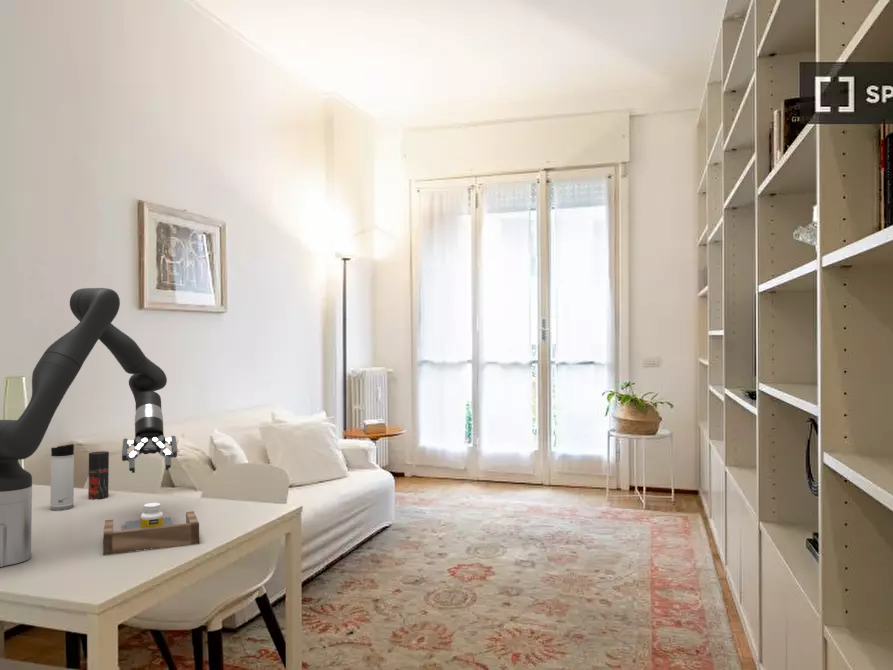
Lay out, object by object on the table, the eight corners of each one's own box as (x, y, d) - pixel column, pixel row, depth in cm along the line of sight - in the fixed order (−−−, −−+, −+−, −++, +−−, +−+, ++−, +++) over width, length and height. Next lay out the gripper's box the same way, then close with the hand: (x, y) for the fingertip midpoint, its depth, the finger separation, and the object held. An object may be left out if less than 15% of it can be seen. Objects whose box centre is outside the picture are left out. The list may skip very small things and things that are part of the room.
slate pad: (125, 523, 191) (125, 521, 191) (170, 518, 196) (170, 516, 196) (125, 534, 180) (125, 532, 180) (173, 528, 185) (173, 527, 185)
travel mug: (64, 511, 205) (64, 446, 205) (45, 510, 206) (46, 445, 206) (79, 506, 211) (79, 443, 211) (61, 505, 212) (61, 442, 212)
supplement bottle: (148, 546, 169) (148, 507, 169) (135, 543, 172) (135, 505, 172) (167, 541, 174) (167, 503, 174) (154, 538, 176) (154, 501, 177)
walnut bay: (104, 539, 175) (104, 520, 175) (193, 529, 185) (193, 511, 185) (103, 555, 162) (103, 534, 162) (199, 543, 172) (199, 523, 172)
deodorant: (112, 497, 224) (112, 452, 224) (94, 500, 219) (95, 454, 219) (102, 494, 227) (102, 450, 227) (84, 498, 222) (85, 453, 222)
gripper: (121, 416, 188) (121, 464, 178) (176, 414, 195) (179, 459, 184) (121, 433, 193) (121, 480, 183) (174, 430, 199) (177, 475, 189)
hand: (150, 469), depth 184 cm, fingers open, 8 cm apart
